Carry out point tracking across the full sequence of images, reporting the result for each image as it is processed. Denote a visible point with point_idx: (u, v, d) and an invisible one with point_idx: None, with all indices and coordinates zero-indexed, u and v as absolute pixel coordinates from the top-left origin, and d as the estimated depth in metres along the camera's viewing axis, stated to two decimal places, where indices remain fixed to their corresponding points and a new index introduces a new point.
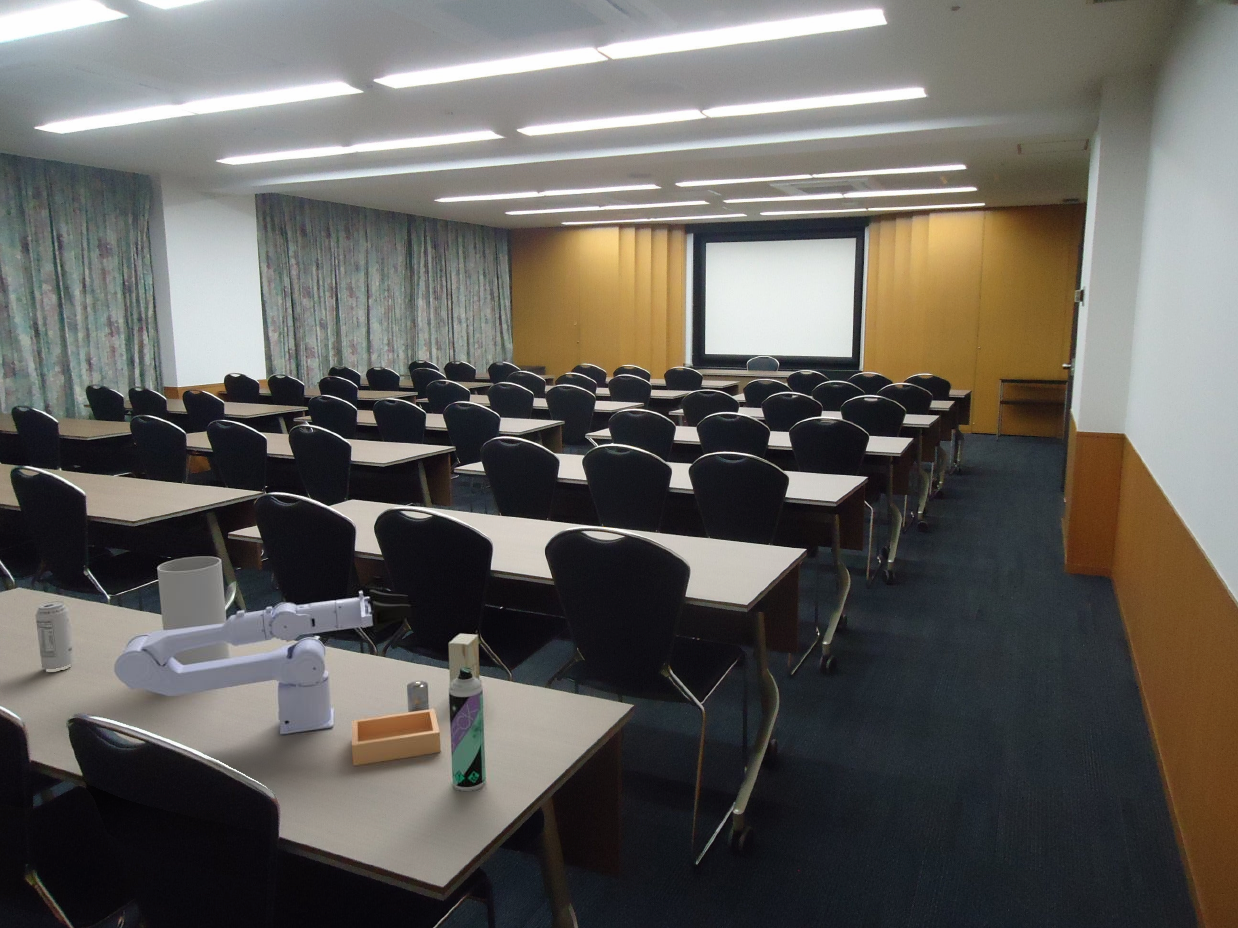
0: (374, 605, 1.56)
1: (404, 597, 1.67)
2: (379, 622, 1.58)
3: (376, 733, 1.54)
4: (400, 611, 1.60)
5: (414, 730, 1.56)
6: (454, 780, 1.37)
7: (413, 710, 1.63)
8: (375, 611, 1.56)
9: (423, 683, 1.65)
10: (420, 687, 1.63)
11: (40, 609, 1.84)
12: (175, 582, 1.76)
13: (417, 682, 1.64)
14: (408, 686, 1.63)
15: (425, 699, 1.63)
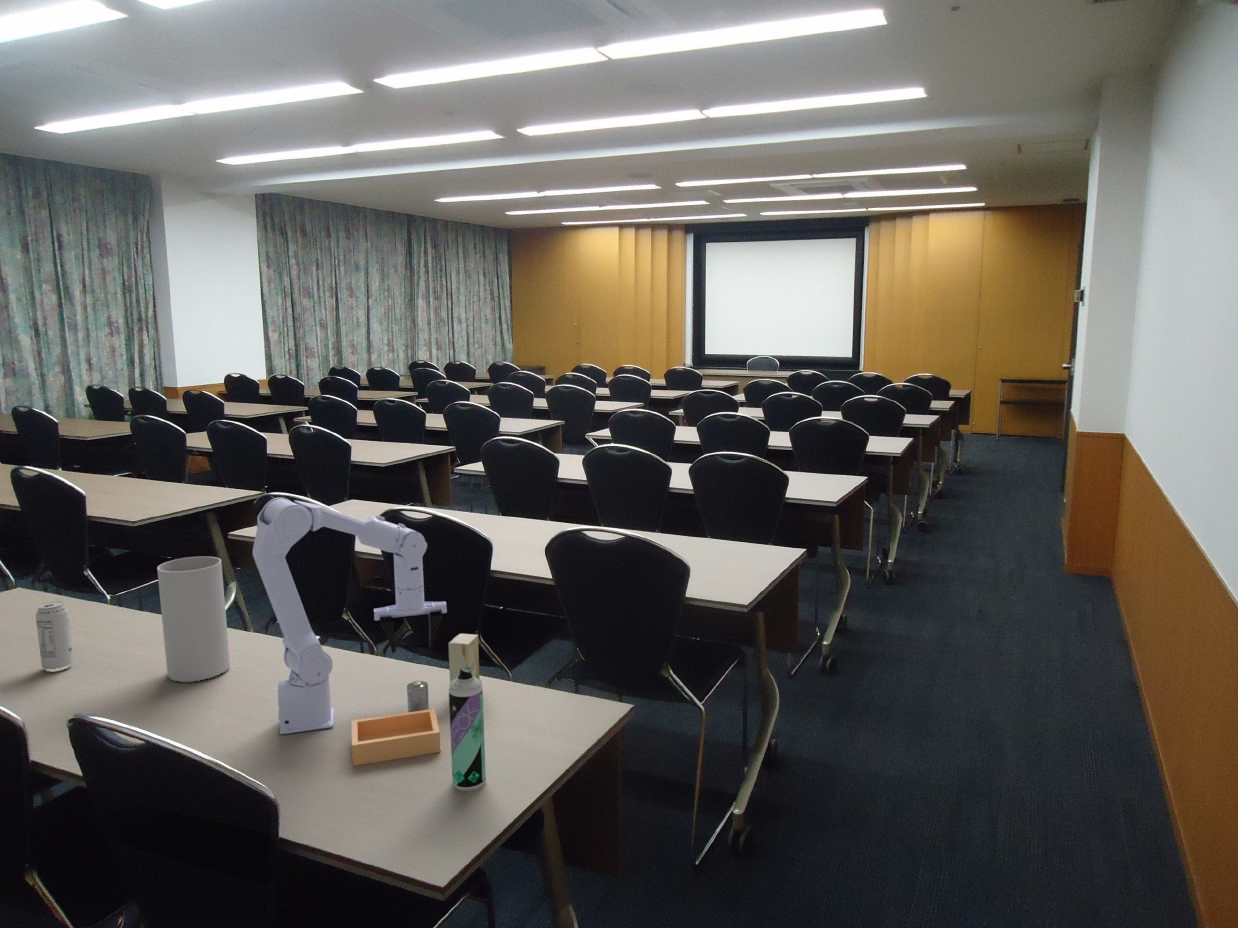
0: None
1: None
2: None
3: (376, 733, 1.54)
4: None
5: (414, 730, 1.56)
6: (454, 780, 1.37)
7: (413, 710, 1.63)
8: None
9: (423, 683, 1.65)
10: (420, 687, 1.63)
11: (40, 609, 1.84)
12: (175, 582, 1.76)
13: (417, 682, 1.64)
14: (408, 686, 1.63)
15: (425, 699, 1.63)
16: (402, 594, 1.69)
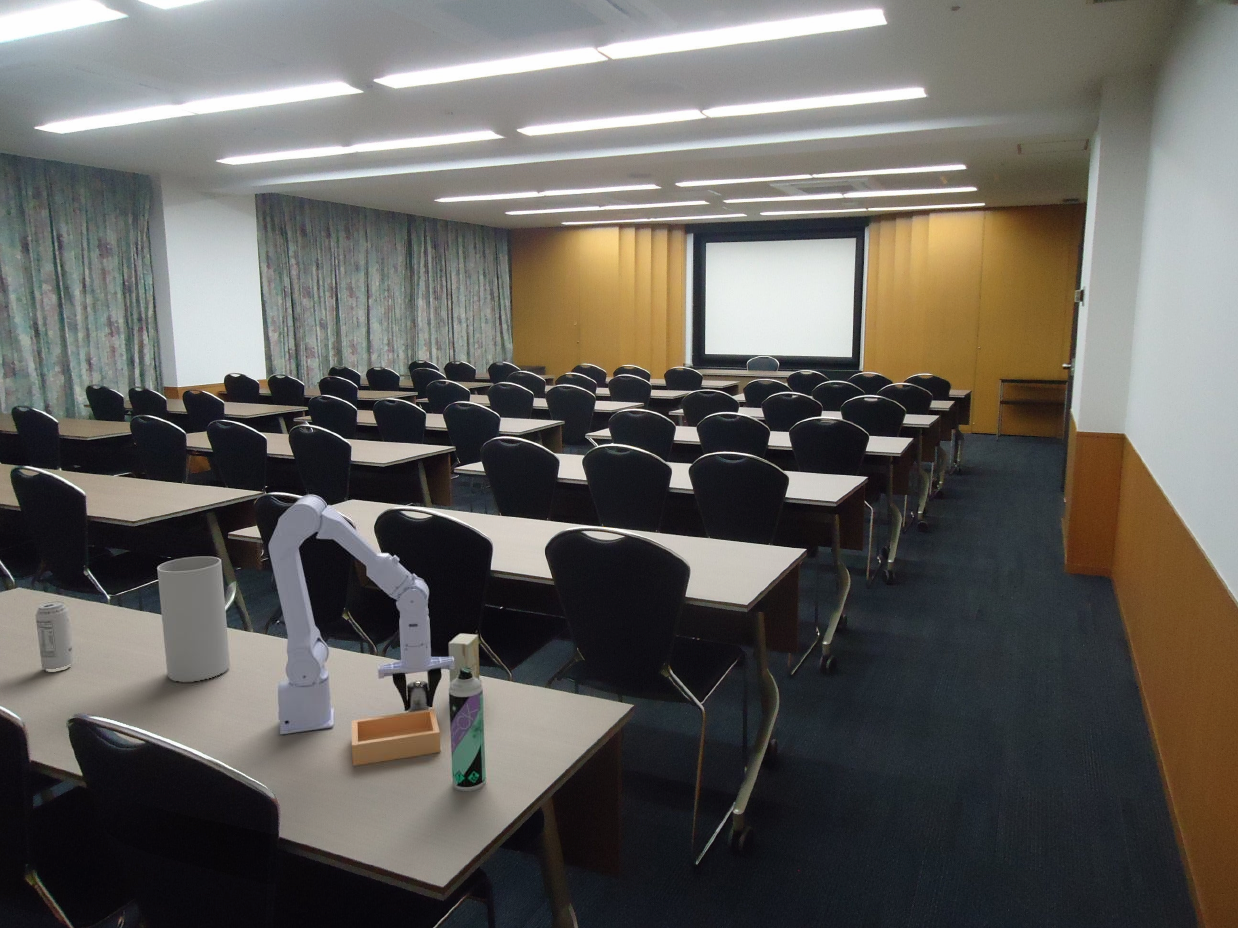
0: None
1: None
2: None
3: (376, 733, 1.54)
4: None
5: (414, 730, 1.56)
6: (454, 780, 1.37)
7: (413, 710, 1.63)
8: None
9: (423, 683, 1.65)
10: (420, 687, 1.63)
11: (40, 609, 1.84)
12: (175, 582, 1.76)
13: (417, 682, 1.64)
14: (408, 686, 1.63)
15: (425, 699, 1.63)
16: (408, 651, 1.60)
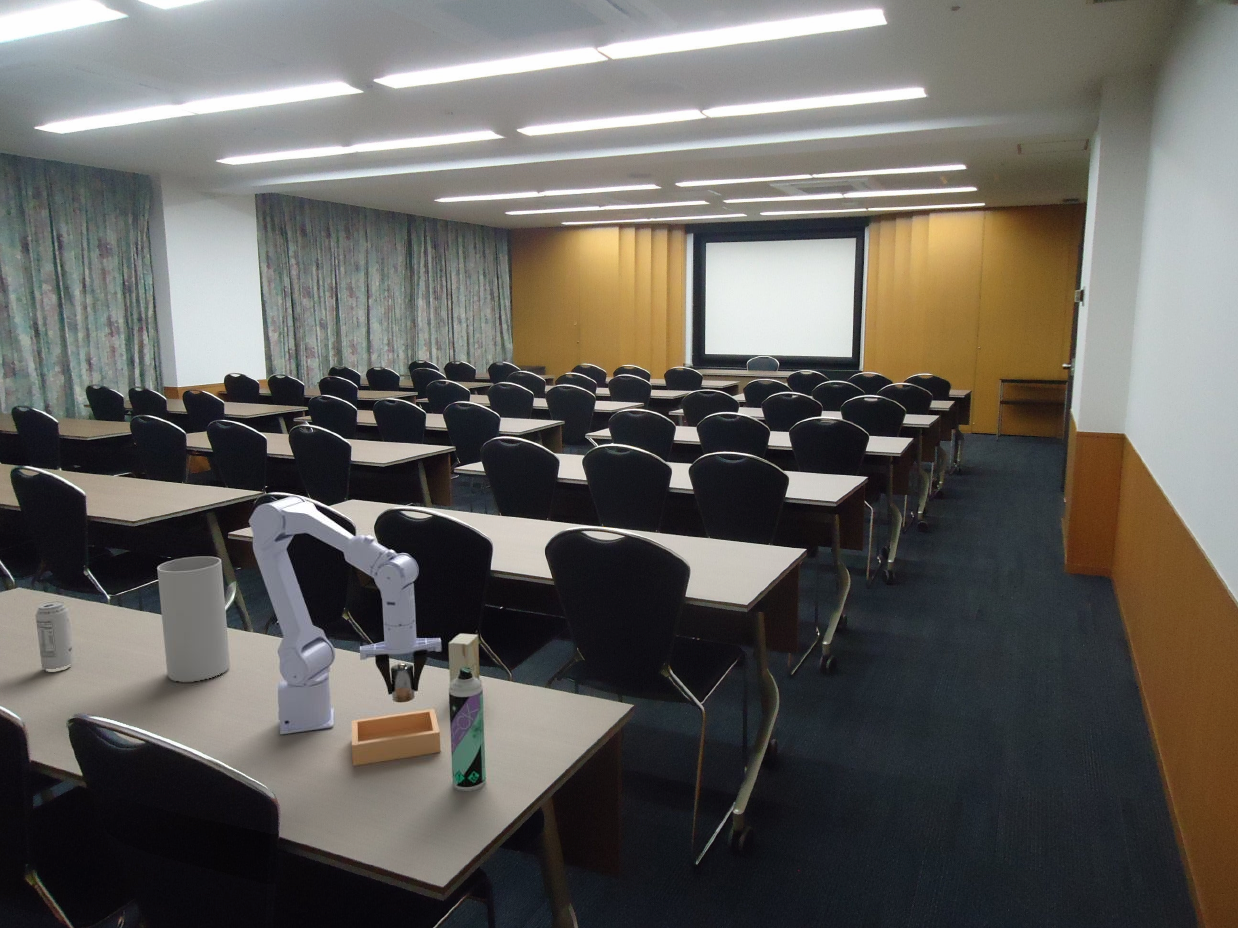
0: None
1: None
2: None
3: (376, 733, 1.54)
4: None
5: (414, 730, 1.56)
6: (454, 780, 1.37)
7: (397, 693, 1.54)
8: None
9: (408, 665, 1.56)
10: (404, 669, 1.54)
11: (40, 609, 1.84)
12: (175, 582, 1.76)
13: (401, 664, 1.55)
14: (392, 668, 1.54)
15: (410, 682, 1.54)
16: (391, 631, 1.51)
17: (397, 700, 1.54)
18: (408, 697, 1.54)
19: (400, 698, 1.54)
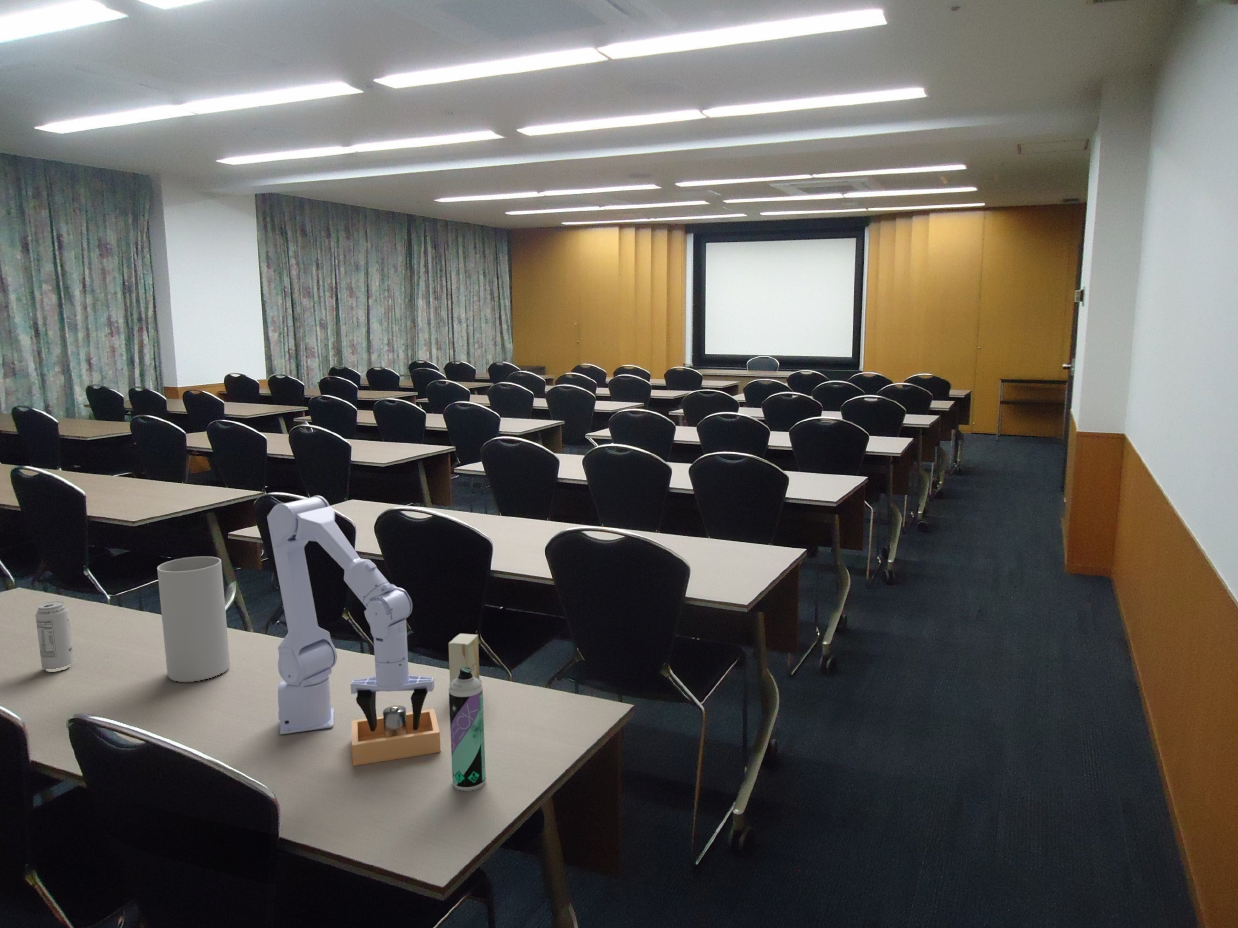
0: None
1: (376, 723, 1.52)
2: None
3: (376, 733, 1.54)
4: (418, 716, 1.51)
5: (414, 730, 1.56)
6: (454, 780, 1.37)
7: None
8: None
9: (401, 709, 1.51)
10: (395, 713, 1.50)
11: (40, 609, 1.84)
12: (175, 582, 1.76)
13: (394, 707, 1.51)
14: (384, 710, 1.51)
15: (400, 727, 1.50)
16: (379, 667, 1.47)
17: None
18: None
19: None
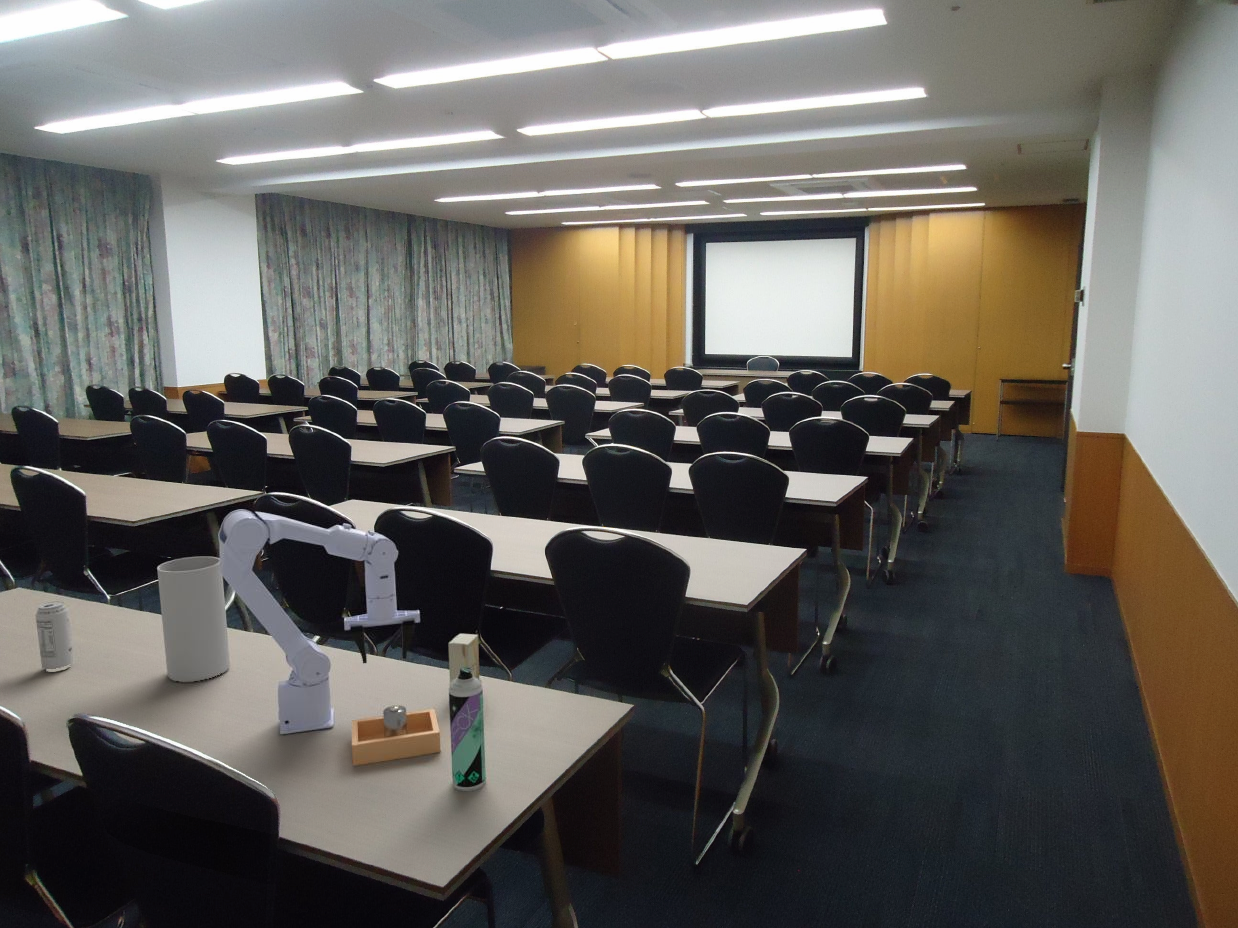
0: None
1: (366, 656, 1.68)
2: None
3: (376, 733, 1.54)
4: None
5: (414, 730, 1.56)
6: (454, 780, 1.37)
7: None
8: None
9: (401, 709, 1.51)
10: (395, 713, 1.50)
11: (40, 609, 1.84)
12: (175, 582, 1.76)
13: (394, 707, 1.51)
14: (385, 710, 1.51)
15: (401, 727, 1.50)
16: (373, 603, 1.63)
17: None
18: None
19: None
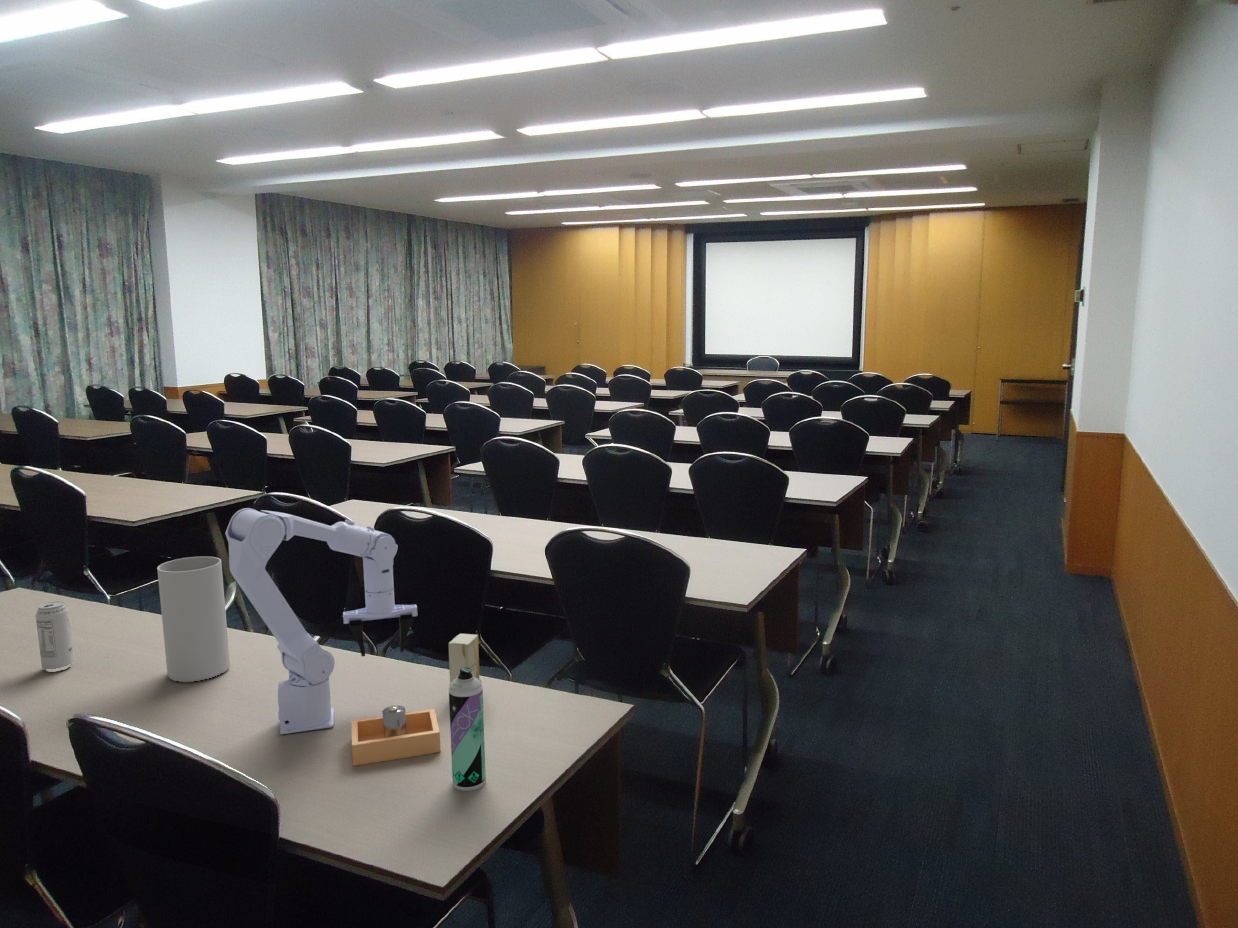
0: None
1: None
2: None
3: (376, 733, 1.54)
4: None
5: (414, 730, 1.56)
6: (454, 780, 1.37)
7: None
8: None
9: (401, 709, 1.51)
10: (394, 713, 1.50)
11: (40, 609, 1.84)
12: (175, 582, 1.76)
13: (393, 707, 1.51)
14: (384, 710, 1.51)
15: (400, 726, 1.50)
16: (371, 597, 1.67)
17: None
18: None
19: None
